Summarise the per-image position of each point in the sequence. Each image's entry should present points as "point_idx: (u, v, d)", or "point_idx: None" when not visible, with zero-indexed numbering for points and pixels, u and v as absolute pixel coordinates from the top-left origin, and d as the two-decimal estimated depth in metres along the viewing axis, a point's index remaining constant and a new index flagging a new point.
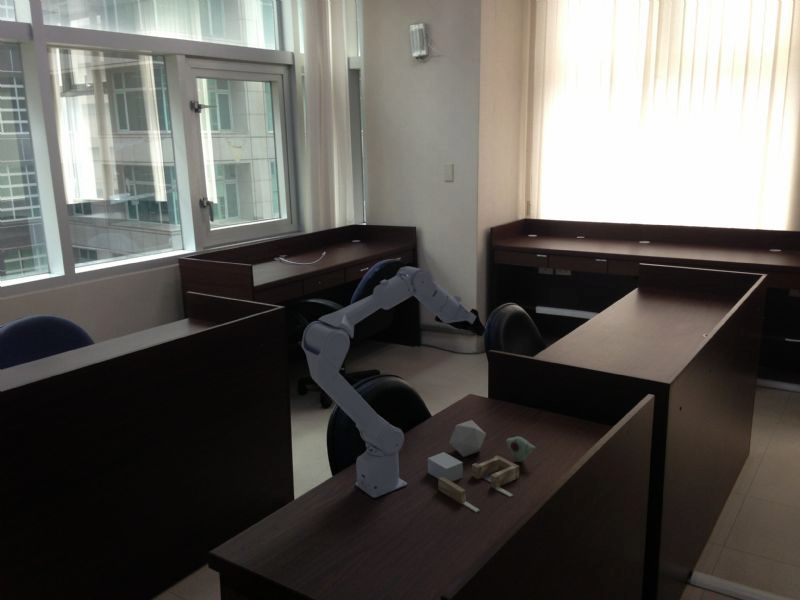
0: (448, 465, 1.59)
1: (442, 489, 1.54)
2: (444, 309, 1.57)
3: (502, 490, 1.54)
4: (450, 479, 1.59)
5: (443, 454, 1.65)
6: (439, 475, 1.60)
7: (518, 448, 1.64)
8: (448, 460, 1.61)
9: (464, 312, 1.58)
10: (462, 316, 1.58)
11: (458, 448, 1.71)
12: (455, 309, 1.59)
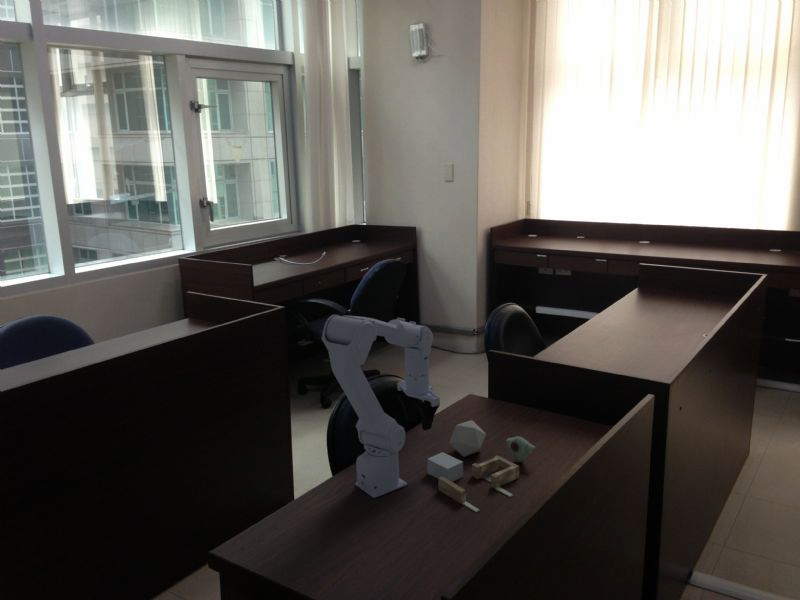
0: (449, 465, 1.59)
1: (442, 489, 1.54)
2: (419, 380, 1.62)
3: (502, 490, 1.54)
4: (451, 478, 1.59)
5: (442, 454, 1.65)
6: (440, 475, 1.60)
7: (517, 448, 1.64)
8: (448, 460, 1.61)
9: (431, 395, 1.63)
10: (428, 396, 1.62)
11: (458, 448, 1.71)
12: (425, 389, 1.64)
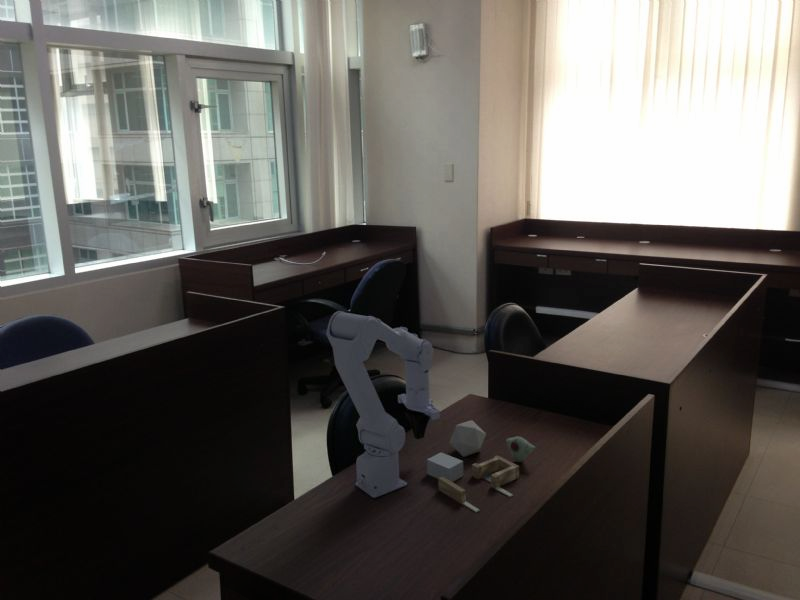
0: (450, 465, 1.59)
1: (442, 489, 1.54)
2: (419, 393, 1.63)
3: (502, 490, 1.54)
4: (452, 478, 1.59)
5: (441, 454, 1.65)
6: (441, 475, 1.60)
7: (517, 448, 1.64)
8: (448, 460, 1.61)
9: (432, 408, 1.63)
10: (428, 410, 1.63)
11: (458, 448, 1.71)
12: (426, 402, 1.65)
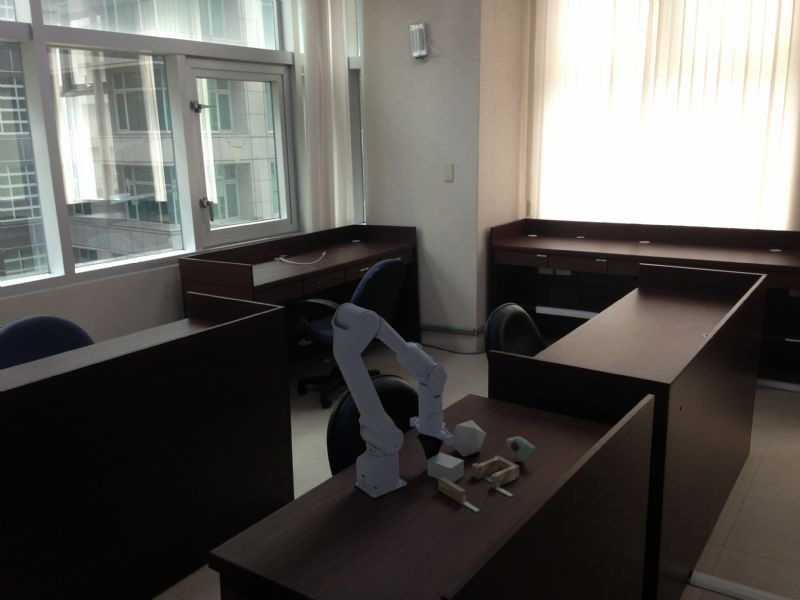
0: (451, 465, 1.59)
1: (442, 489, 1.54)
2: (433, 417, 1.60)
3: (502, 490, 1.54)
4: (454, 478, 1.59)
5: (441, 454, 1.64)
6: (442, 475, 1.60)
7: (517, 448, 1.64)
8: (448, 460, 1.61)
9: (445, 433, 1.61)
10: (442, 434, 1.60)
11: (458, 448, 1.71)
12: (439, 426, 1.62)
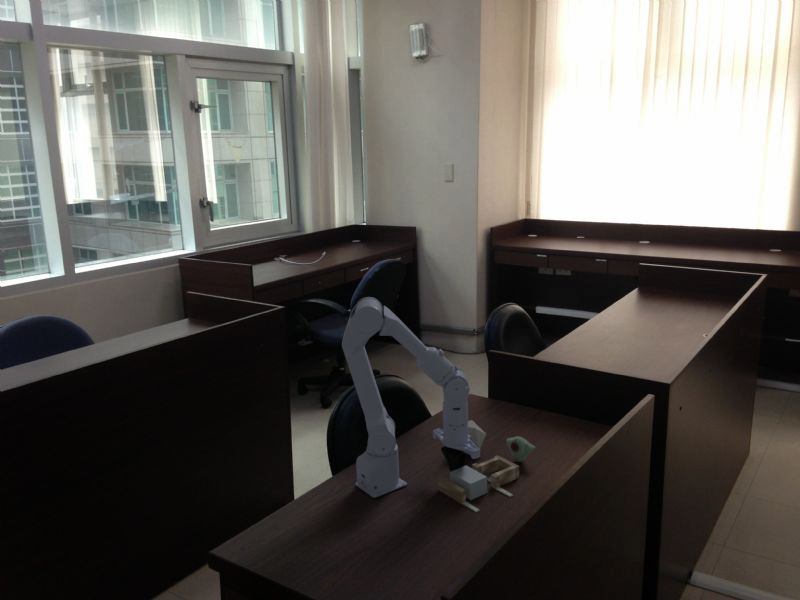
0: (472, 480, 1.51)
1: (442, 489, 1.54)
2: (458, 430, 1.53)
3: (502, 490, 1.54)
4: (474, 494, 1.51)
5: (466, 468, 1.57)
6: None
7: (517, 448, 1.64)
8: (471, 474, 1.54)
9: (471, 446, 1.53)
10: (468, 448, 1.53)
11: None
12: (464, 439, 1.55)
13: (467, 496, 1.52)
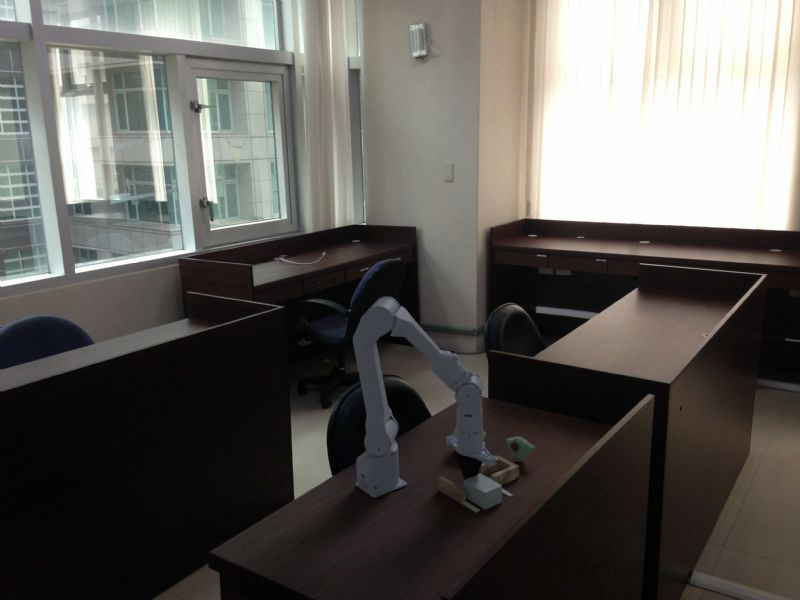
0: (487, 489, 1.47)
1: (442, 489, 1.54)
2: (472, 437, 1.49)
3: (502, 490, 1.54)
4: (489, 503, 1.47)
5: (480, 476, 1.53)
6: (477, 499, 1.49)
7: (517, 448, 1.64)
8: (486, 483, 1.50)
9: (486, 454, 1.50)
10: (483, 456, 1.49)
11: None
12: (479, 446, 1.51)
13: (482, 505, 1.48)
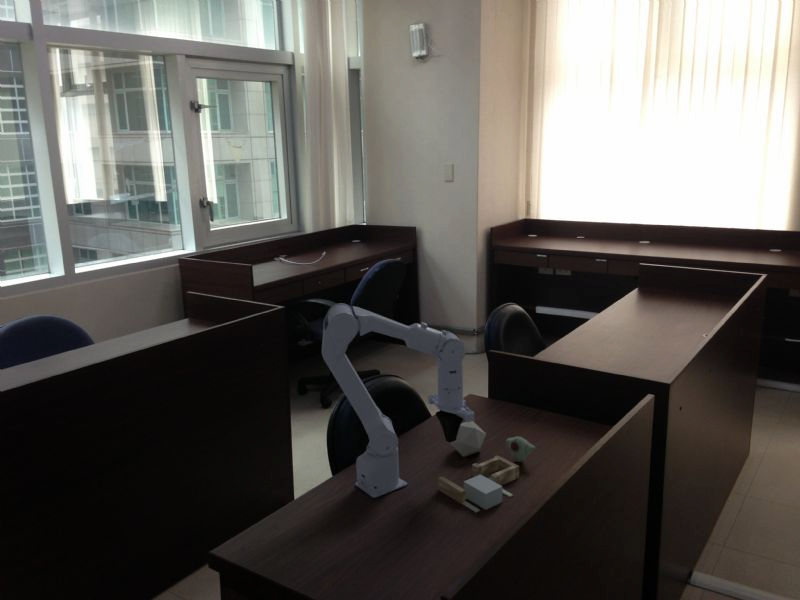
0: (487, 490, 1.47)
1: (442, 489, 1.54)
2: (452, 393, 1.53)
3: (502, 490, 1.54)
4: (489, 504, 1.47)
5: (480, 477, 1.53)
6: (477, 500, 1.49)
7: (517, 448, 1.64)
8: (486, 484, 1.50)
9: (465, 410, 1.54)
10: (462, 411, 1.53)
11: (458, 448, 1.71)
12: (459, 403, 1.55)
13: (482, 506, 1.48)
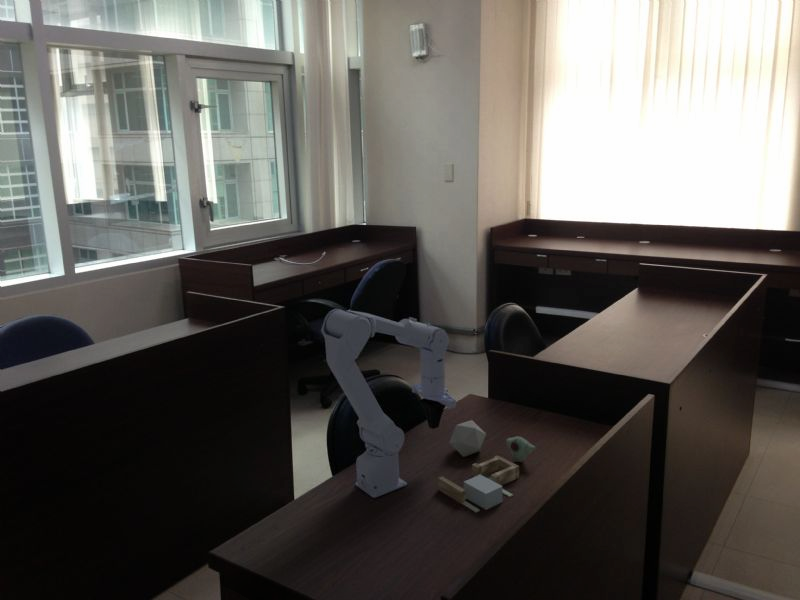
0: (488, 490, 1.47)
1: (442, 489, 1.54)
2: (435, 382, 1.61)
3: (502, 490, 1.54)
4: (490, 504, 1.47)
5: (480, 477, 1.53)
6: (477, 500, 1.49)
7: (517, 448, 1.64)
8: (486, 484, 1.50)
9: (447, 397, 1.61)
10: (444, 399, 1.60)
11: (458, 448, 1.71)
12: (441, 391, 1.62)
13: (483, 506, 1.48)
